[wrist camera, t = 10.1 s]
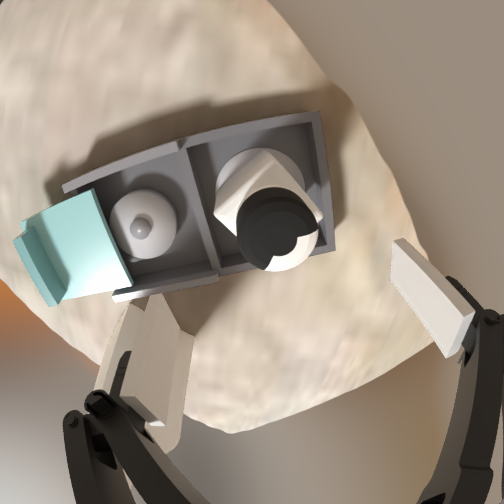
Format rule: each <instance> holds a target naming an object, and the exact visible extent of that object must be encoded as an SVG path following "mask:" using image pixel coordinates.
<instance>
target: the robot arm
mask: <svg viewBox="0 0 504 504" xmlns="http://www.w3.org/2000/svg"><path fill="white" fill-rule="evenodd" d="M1 2H2V0H0V3H1ZM390 281H391V282H392V283H393V285H394V286H395V287H396V288H397V290H398V291H399V292H400V294H401V295H402V296H403V298H404V299H405V300H406V302H407V303H408V304H409V306H410V307H411V308H412V310H413V311H414V312H415V314H416V315H417V316H418V318H419V319H420V321H421V322H422V324H423V325H424V326H425V328H426V329H427V331H428V332H429V334H430V335H431V336H432V338H433V339H434V341H435V342H436V344H437V345H438V347H439V348H440V350H441V351H442V353H443V355H444V356H445V358H448V357H450V356H452V355H454V354H455V353H457V352H458V350H459V348H460V346H461V344H462V346H463V347H464V351H463V353H462V355H461V357H460V359H459V361H458V363H460V362H461V360H462V364H461V371H460V378H459V383H458V389H457V394H456V399H455V404H454V409H453V413H452V417H451V421H450V425H449V428H448V432H447V435H446V439H445V442H444V445H443V448H442V451H441V455H440V457H439V460H438V463H437V466H436V468H435V471H434V473H433V476H432V478H431V480H430V482H429V483H428V485H427V486H426V487H425V489H424V490H423V492H422V494H421V496H420V498H419V500H418V502H417V504H484V503H485V501H486V498H487V495H488V492H489V489H490V486H491V483H492V479H493V470H492V469H491V468H490V462H491V458H492V454H493V450H494V445H495V440H496V435H497V430H498V424H499V417H500V409H501V403H502V415H503V436H504V314H502V315H499V314H498V313H497V312H496V311H494V310H491V309H486V310H484V309H483V308H482V306H481V305H480V304H479V303H478V302H477V301H476V300H475V299H474V298H473V297H472V295H471V294H470V293H469V292H467V290H466V289H465V288H463V286H462V285H461V284H460V283H459V282H458V281H457V280H456V279H454V278H452V277H450V276H447V277H444V276H443V275H442V274H441V273H440V272H439V271H438V270H437V269H436V268H435V267H434V266H433V265H432V264H431V263H430V262H429V261H428V260H427V259H426V258H425V257H424V256H422V255H421V254H420V253H419V252H418V251H417V250H416V249H415V248H414V247H413V246H412V245H411V244H410V243H409V242H407V241H406V240H405V239H404V238H402V239H398V240H394V241H393V248H392V262H391V274H390ZM179 331H180V327H179V325H178V323H177V322H176V320H175V318H174V316H173V314H172V312H171V310H170V308H169V306H168V304H167V302H166V300H165V298H164V296H163V294H162V293H160V294H154V295H150V297H149V300H148V303H147V306H146V309H145V311H144V314H143V317H142V320H141V323H140V327H139V330H138V333H137V336H136V339H135V342H134V346H133V349H132V351H125V352H124V354H123V355H122V357H121V358H120V360H119V363H118V366H117V369H116V372H115V376H114V379H113V383H112V386H111V389H110V393H109V395H108V394H107V393H106V392H105V391H104V390H101V389H98V390H94V391H92V392H91V393H90V394H89V395H88V396H87V398H86V400H85V403H84V407H85V409H86V411H88V412H89V414H86V415H83V414H82V413H80V412H79V411H77V410H72V411H70V412H68V413H67V414H66V416H65V417H64V420H63V432H64V442H65V450H66V456H67V463H68V468H69V474H70V478H71V483H72V488H73V492H74V496H75V500H76V504H136V503H135V501H134V498H133V496H132V493H131V491H130V488H129V485H128V482H127V480H126V477H125V474H124V471H125V473H126V474H127V476H128V477H129V479H130V480H131V482H132V483H133V485H134V486H135V488H136V489H137V491H138V492H139V494H140V495H141V496H142V498H143V499H144V501H145V502H146V503H147V504H210V503H209V502H208V501H207V500H206V499H205V498H204V497H203V496H202V495H201V494H200V493H199V492H198V491H197V490H196V489H195V488H194V487H193V486H192V484H191V483H190V482H189V481H188V480H187V479H186V478H185V477H184V476H183V475H182V473H181V472H180V471H179V470H178V469H177V467H176V466H175V465H174V464H173V463H172V462H171V460H170V459H169V458H168V457H167V455H166V454H165V453H164V452H163V450H162V449H161V448H160V446H159V445H158V444H157V442H156V441H155V440H154V438H153V437H152V436H151V434H150V433H149V432H148V430H147V429H146V428H145V421H146V422H147V423H149V424H150V425H151V426H166V422H167V413H168V405H169V397H170V389H171V382H172V375H173V368H174V361H175V355H176V349H177V343H178V336H179ZM503 441H504V437H503ZM503 446H504V442H503ZM123 469H124V471H123ZM500 504H504V447H503V471H502V501H501V503H500Z"/></svg>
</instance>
